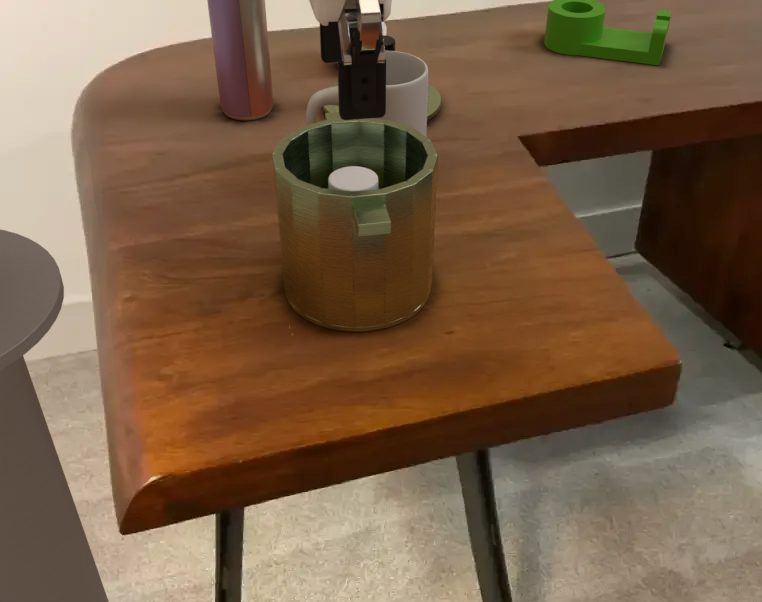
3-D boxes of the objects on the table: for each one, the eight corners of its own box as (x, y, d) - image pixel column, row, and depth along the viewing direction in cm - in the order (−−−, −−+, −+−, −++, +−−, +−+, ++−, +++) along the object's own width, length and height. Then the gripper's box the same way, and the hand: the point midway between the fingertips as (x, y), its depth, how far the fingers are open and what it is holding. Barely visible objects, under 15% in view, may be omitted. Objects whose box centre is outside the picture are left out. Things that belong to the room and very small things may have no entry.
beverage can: (224, 124, 102) (206, -17, 91) (218, 101, 106) (201, -36, 96) (277, 119, 103) (266, -22, 92) (269, 96, 107) (258, -41, 97)
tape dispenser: (539, 51, 117) (543, 13, 113) (549, 30, 122) (554, -6, 118) (659, 66, 113) (667, 28, 110) (664, 45, 118) (672, 8, 115)
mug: (413, 149, 97) (415, 45, 90) (435, 188, 91) (440, 81, 84) (302, 162, 95) (295, 57, 88) (317, 203, 89) (311, 95, 82)
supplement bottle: (399, 280, 79) (401, 178, 72) (353, 307, 76) (351, 203, 70) (356, 255, 82) (354, 154, 75) (311, 279, 79) (304, 177, 72)
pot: (296, 361, 72) (285, 223, 63) (275, 237, 85) (263, 109, 76) (452, 343, 74) (462, 206, 65) (408, 225, 87) (411, 97, 78)
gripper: (272, -212, 61) (288, 44, 73) (301, -152, 49) (315, 146, 60) (383, -215, 62) (381, 39, 74) (439, -156, 50) (426, 138, 61)
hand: (351, 87), depth 67 cm, fingers open, 9 cm apart
